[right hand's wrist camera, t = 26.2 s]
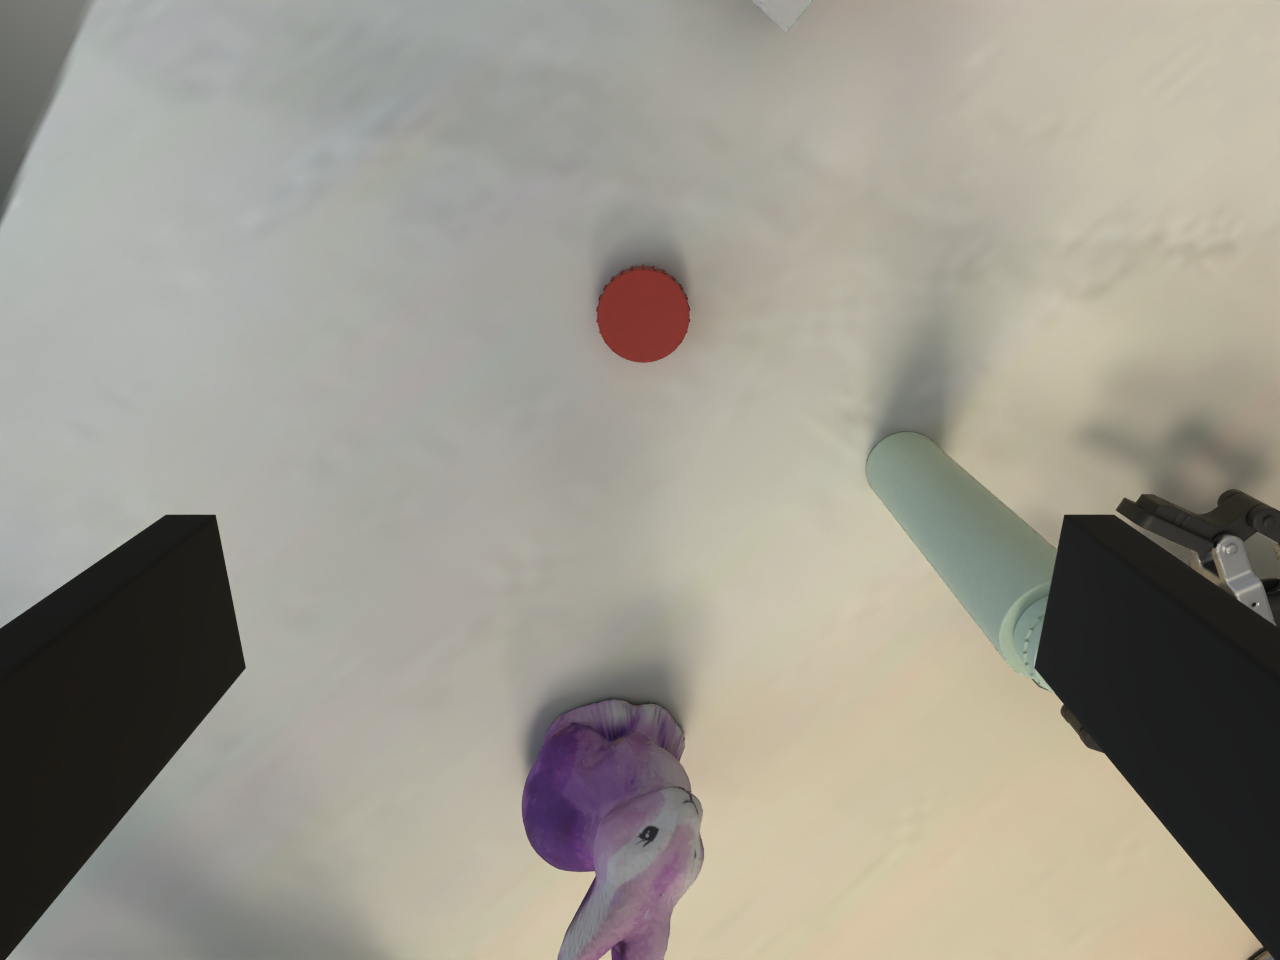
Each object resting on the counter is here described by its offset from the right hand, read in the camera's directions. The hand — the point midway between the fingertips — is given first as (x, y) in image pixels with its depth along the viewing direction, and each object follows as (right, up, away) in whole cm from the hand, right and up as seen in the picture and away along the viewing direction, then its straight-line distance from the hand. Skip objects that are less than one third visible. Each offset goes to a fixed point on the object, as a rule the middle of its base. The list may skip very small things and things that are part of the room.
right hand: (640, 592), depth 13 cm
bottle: (+14, +2, +31) cm, 34 cm away
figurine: (-2, -15, +37) cm, 40 cm away
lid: (0, +10, +26) cm, 28 cm away
